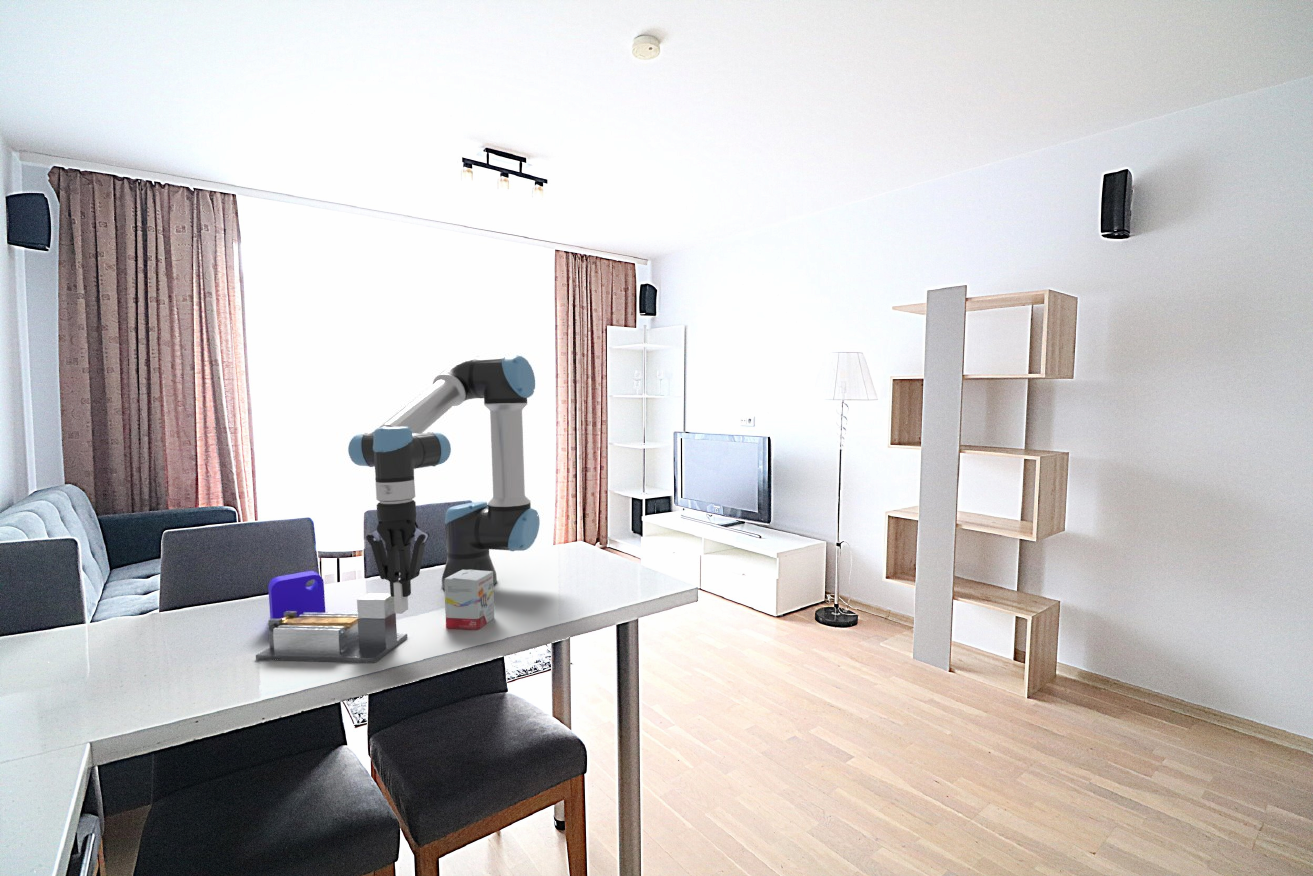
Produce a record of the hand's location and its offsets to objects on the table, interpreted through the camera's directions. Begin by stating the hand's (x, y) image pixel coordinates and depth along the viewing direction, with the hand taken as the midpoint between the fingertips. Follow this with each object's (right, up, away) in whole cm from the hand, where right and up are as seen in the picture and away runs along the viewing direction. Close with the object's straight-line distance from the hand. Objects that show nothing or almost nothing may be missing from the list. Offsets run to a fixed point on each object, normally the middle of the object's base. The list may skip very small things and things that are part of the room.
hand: (401, 611), depth 130 cm
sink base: (-16, -9, +2) cm, 18 cm away
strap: (-19, -4, +2) cm, 20 cm away
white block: (-6, -1, +1) cm, 6 cm away
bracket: (-37, -8, +23) cm, 44 cm away
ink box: (+10, -7, +16) cm, 20 cm away
